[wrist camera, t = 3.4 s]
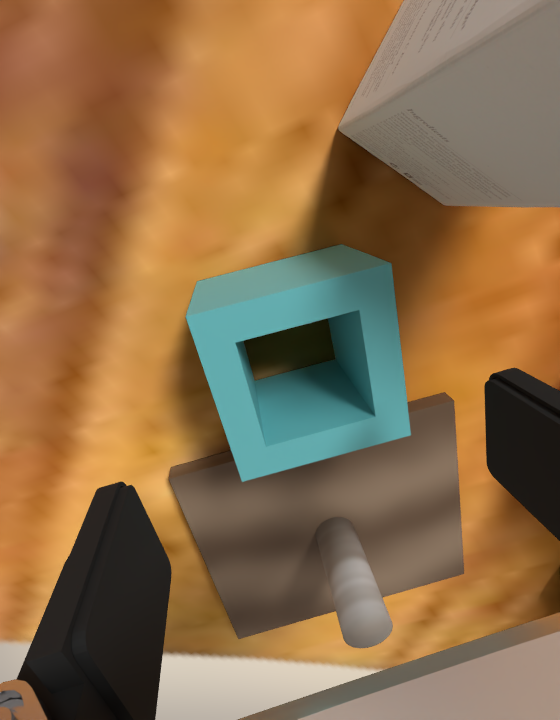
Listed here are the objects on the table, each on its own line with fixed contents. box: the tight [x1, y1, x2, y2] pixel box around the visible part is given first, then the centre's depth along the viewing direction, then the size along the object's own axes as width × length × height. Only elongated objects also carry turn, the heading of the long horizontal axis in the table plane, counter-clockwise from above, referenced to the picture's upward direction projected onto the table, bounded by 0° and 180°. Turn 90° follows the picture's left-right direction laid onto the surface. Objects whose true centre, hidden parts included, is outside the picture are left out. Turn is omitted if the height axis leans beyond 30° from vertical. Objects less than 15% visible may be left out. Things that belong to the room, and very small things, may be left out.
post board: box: [169, 392, 464, 648], centre depth 22 cm, size 14×16×7 cm
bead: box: [186, 244, 411, 482], centre depth 17 cm, size 7×7×6 cm
